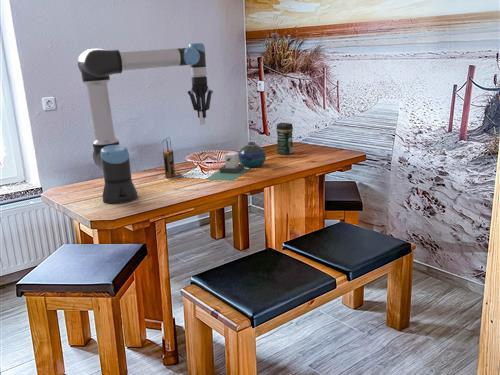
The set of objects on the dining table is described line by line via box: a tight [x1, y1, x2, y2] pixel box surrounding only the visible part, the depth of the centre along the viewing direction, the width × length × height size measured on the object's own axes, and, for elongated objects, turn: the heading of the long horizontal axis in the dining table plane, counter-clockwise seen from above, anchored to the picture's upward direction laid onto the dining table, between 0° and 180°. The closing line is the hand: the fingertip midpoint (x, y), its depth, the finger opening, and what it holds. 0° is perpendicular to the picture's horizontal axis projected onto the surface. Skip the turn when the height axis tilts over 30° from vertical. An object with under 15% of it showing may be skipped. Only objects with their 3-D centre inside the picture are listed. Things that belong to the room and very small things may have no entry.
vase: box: [237, 141, 267, 169], centre depth 260 cm, size 15×15×13 cm
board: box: [205, 163, 250, 182], centre depth 243 cm, size 24×15×4 cm, turn 161°
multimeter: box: [162, 137, 185, 181], centre depth 247 cm, size 15×10×20 cm
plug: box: [224, 152, 240, 168], centre depth 247 cm, size 9×5×9 cm, turn 161°
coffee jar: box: [276, 122, 294, 155], centre depth 288 cm, size 10×8×19 cm
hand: (202, 124), depth 242 cm, fingers closed
